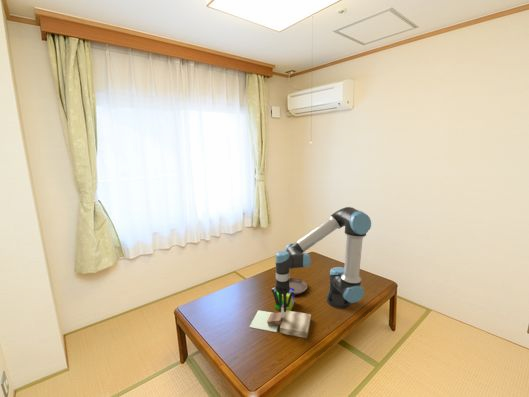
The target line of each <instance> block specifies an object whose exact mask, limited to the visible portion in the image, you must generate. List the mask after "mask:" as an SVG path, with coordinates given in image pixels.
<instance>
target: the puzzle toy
mask: <svg viewBox="0 0 529 397" xmlns="http://www.w3.org/2000/svg"><path fill="white" fill-rule="evenodd" d="M290 289H291V290H294V289H293V288H290ZM276 292H277V291H276ZM289 295H290V293H289V292H288V293H287V294H286V298H287V303H288V299H289ZM277 296H278V300H279V293H278V292H277ZM274 302H275V301H274ZM274 304H275V305H274V306H275V307H274V308H275V309H276V310H279V306H278V305H276V302H275V303H274ZM294 304H295V295H294V293H293V295H292V297H291V301H290V304H289V307H286V310H287V311H292V309H293V307H294ZM282 305H284V299H283V294H282Z"/></svg>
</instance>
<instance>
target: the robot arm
mask: <svg viewBox="0 0 529 397" xmlns="http://www.w3.org/2000/svg"><path fill="white" fill-rule="evenodd" d="M343 227H344V234H345V235H346V241H345V242H346V245H345V255H344V257H345V258H344V265H343V266H344V267H343V266H342V267H341V266H336V267H335V266H334V267H332V268H330V271H329V290H328V292H327V296H326V302H327V304H328V305H329V306H331V307H333V308H337V309H345V308H348V307H350V305H351V304H354V303H357V302H359V301H360V300H362V299H363V297H364V294H365V291H364V287H363V286H362V277H360V270H361V258H362V249H363V240H364V239H363V238H365V237H366V236H367V233H368V232H369V231H370V229H371V227H372V220H371V218H370V216H369V215H368V214H367V213H365V212H363V211H362V210H358V209H356V208H354V207H351V206H346V207H343V208H341V209H339V210H337V211H335V212H333V213H332V214H331V215H330V216H329V218H328V219H326V220H325V221H324V222H322V223H320V224H319V225H318V226H316V227H315V228H314V229H312V230H311V231H310V232H308V233H307V234H305V235H304V236H302V237H301V238H300V239H298V240H297V241H296V242H294V243H292V242H291V243H290V242H289V243H287V245H286V246H285V250H279V251H277V252H275V287H272V288H271V292H272V295H273V298H274V302H276V305H278V306H279V309H278V311H279V312H281V318H284V316H285V312H286V307H289V304H290V301H291V297H292V295H293V293H294V290H291V289H290V287H289V278H290V269H300V268H307V267H310V266H311V263H312V260H311V255H310V253H307V252H306V251H308V250H309V249H310V248H311V247H313V246H315V245H316V244H318V243H319V242H320V241H321V240H323V239H325V237H327V236H328V235H330V234H332V233H333V232H334V231H336V230H338V229H341V228H343ZM304 252H305V253H304ZM277 292H278V293H279V300H278V296H277ZM288 292H289V293H290V295H289V299H288V303H287V298H286V294H287V293H288ZM282 294H283V299H284V305H282Z"/></svg>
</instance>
